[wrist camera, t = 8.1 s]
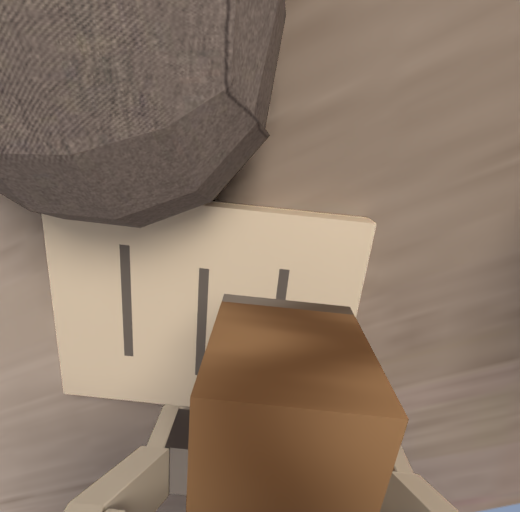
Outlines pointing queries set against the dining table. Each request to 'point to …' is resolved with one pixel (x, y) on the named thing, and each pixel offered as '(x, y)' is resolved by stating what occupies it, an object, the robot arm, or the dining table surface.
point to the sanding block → (290, 412)
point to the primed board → (185, 288)
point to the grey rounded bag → (131, 103)
